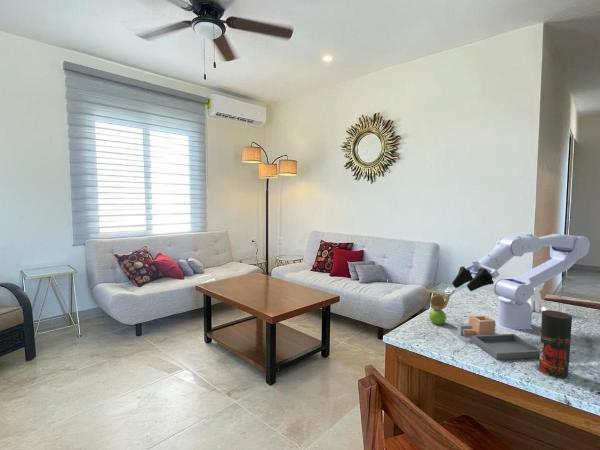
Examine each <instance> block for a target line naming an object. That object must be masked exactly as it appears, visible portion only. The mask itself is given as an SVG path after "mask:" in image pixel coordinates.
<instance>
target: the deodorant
mask: <svg viewBox="0 0 600 450" xmlns="http://www.w3.org/2000/svg"><path fill="white" fill-rule="evenodd" d="M572 324H573V316H572V315H571V314H569V313H567V312H562V311H557V310H552V309H548V310H545V311H542V313H541V325H540V342H539V344H540V345H539V348H540V357H539V358H538V359H539V360H538V361H539V362H538V371H540V372H541V373H542V374H543V375H546V376H549V377H551V378H555V379H567V378H568V377H569V369H570V367H569V366H570V353H571V337H572V326H573V325H572Z"/></svg>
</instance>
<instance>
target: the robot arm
mask: <svg viewBox="0 0 600 450" xmlns="http://www.w3.org/2000/svg"><path fill="white" fill-rule="evenodd" d="M546 247H549V258H550V259H548V260H546V261H544V262H543V263H541V264H539V265H537V266H536V267H533V268H531V269H529V270H528V271H526V272H524V273H522V274H520V275H518V276H517V275H515V276H507V277H504V278H499V279H497V278H498V277H499V276H501V275H500V273H499V271H498V270H499V269H501V268H502V267H503V266H504V265H506V264H507V263H508V262H509V261H510V260H512V259H513V258H514V257H519V258H521V257H523V256H524V255H525V254H529V253H535V252H538V251H540V249H541V248H546ZM590 247H591V242H590V240H589V238H588V237H587V236H584V235H583V236H582V235H581V236H579V235H569V234H562V233H552V234H548V235H544V236H539V237H538V236H537V235H535V234H533V233H525V235H522V236H520V235H515V236H514V237H506V236H505V237H502V238H498V240H497V242H496V245H495V246H494V247H493V249H492V250H490V251H489V252H488V253H486V254H485V255H484V256H483V257H481V258H480V259H478V260H477V259H475V260H472V264H470V265H469V266H460V267H459V269H458V273H457V275H456V276H455V278H454V279H453V281H452V283H451V284H452V285H453V287H454V288H455V289H457V288H459V287H461V286H462V285H464V284H467V285H466V287H467V289H468V290H469V292H473V291H475V290H477V289H479V288H483V287H485V286H488V285H489V286H490V285H493V287H492V288H493V289H492V290H493V293H494V294H495V295H496V298H497V299H498V300H497V301H498V303H497V305H498V306H497V319H496V320H494V321H495V325H497V326H499V327H500V328H502V329H504V330H507V331H511V330H515V331H517V330H533V329H534V328H533V327H532V323H533V322H532V321H533V320H532V319H533V312H532V308H531V306H530V304H529V303H528V302H527V301H528V299H529V298H530V297H531V296H532V295H534V288H535V287H537V286H538V285H540V284H543V283H546V282H548V281H549V280H551V279H553V278H556V277H557V276H559V275H561V274H562V273H564V272H566V271H568V270H569V269H570V268H571V267H573V266H574V264H575V263H577V262H578V260H580V259H582V258H584V257H586V256H587V255H588V253H589V250H590ZM472 275H474V277H473V276H472ZM493 279H496V280H495V281H494V280H493Z"/></svg>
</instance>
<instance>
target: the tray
mask: <svg viewBox="0 0 600 450" xmlns="http://www.w3.org/2000/svg"><path fill="white" fill-rule="evenodd" d="M470 342H471V343H472V344H473V345H475V346H477V348H479V349H481V350H482V351H484V352H485V353H486V354H488V355H489V357H492V358H493V359H494V360H496V361H501V360H502V361H503V360H504V361H505V360H522V359H527V360H528V359H539V357H540V347H538V346H536V345H535V344H532V343H530V342H529V341H527V340H525V339H523V338H522V337H520V336H518V335H517V334H514V333H504V334H503V333H502V334H500V333H497V335H473V336H471V340H470Z"/></svg>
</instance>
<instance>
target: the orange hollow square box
mask: <svg viewBox="0 0 600 450" xmlns="http://www.w3.org/2000/svg"><path fill="white" fill-rule="evenodd" d="M495 321H496V320H494V319H493V318H491V317H490V316H487V315H485V314H484V315H483V314H480V315H479V314H478V315H476V314H475V315H469V323H468V324H470V325H472V329H467V330H463V334H464V335H495V332H496V324H495Z"/></svg>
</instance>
